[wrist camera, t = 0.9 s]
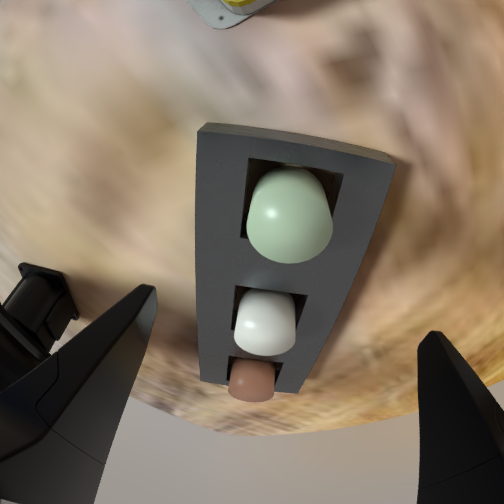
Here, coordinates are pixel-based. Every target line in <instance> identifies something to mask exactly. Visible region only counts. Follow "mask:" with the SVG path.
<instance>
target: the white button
mask: <svg viewBox="0 0 504 504" xmlns="http://www.w3.org/2000/svg"><path fill="white" fill-rule="evenodd" d="M234 339H235V342H236V343H237V345H238V346H239V347H240V348H242V349H243V350H245V351H247V352H249V353H252V354H256V355H262V356H273V355H278V354H282V353H284V352H286V351H288V350H289V349H291V348H292V346H293V345H294V343H295V302H294V299H293V297H292V296H291V295H290V294H289V293H288V292H281V291H274V290H266V289H259V288H252V289H250V290H248V291H247V292H245V293H244V294H243V295H242V297H241V299H240V303H239V309H238V315H237V321H236V327H235V333H234Z"/></svg>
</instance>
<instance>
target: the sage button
mask: <svg viewBox="0 0 504 504" xmlns="http://www.w3.org/2000/svg"><path fill="white" fill-rule="evenodd" d="M332 232H333V222H332V218H331V214H330V210H329V206H328V203H327V199H326V195H325V192H324V188H323V186H322V184H321V183H320V181H319V180H318V179H317V177H316V176H314V175H313V174H312V173H311V172H309V171H307V170H305V169H302V168H299V167H295V166H283V167H278V168H275V169H273V170H271V171H269V172H267V173H266V174H264V175H263V176H262V177H261V178H260V179H259V181H258V182H257V184H256V186H255V188H254V191H253V196H252V201H251V205H250V210H249V215H248V220H247V234H248V238H249V240H250V242H251V244H252V245H253V247H254V248H255V249H256V250H257V251H258V252H259V253H260V254H261V255H263V256H264V257H266V258H268V259H270V260H273V261H276V262H280V263H300V262H304V261H307V260H309V259H311V258H313V257H315V256H317V255H318V254H319V253H321V252H322V251H323V250H324V249H325V247H326V246H327V245H328V243H329V241H330V239H331V236H332Z"/></svg>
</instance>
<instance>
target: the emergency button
mask: <svg viewBox="0 0 504 504" xmlns="http://www.w3.org/2000/svg"><path fill="white" fill-rule="evenodd" d="M186 1H187V2H188V3H189V5H190V6H191V7H192V8H193V9H194V10H195V11H196V12H197V14H198V15H199V16H200V17H201V18H202V19H203V21H204V22H205V23H206V24H207V25H209V26H211V27H212V28H214V29H226V28H229V27H232V26H234V25H236V24H238V23H239V22H241V21H243V20H244V19H246V18H248V17H249V16H251V15H253V14H255V13H256V12H258V11H260V10H262V9H264V8H265V7H267V6H269V5H271V4H273V3H275V2H277V1H279V0H186Z"/></svg>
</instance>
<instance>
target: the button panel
mask: <svg viewBox="0 0 504 504" xmlns="http://www.w3.org/2000/svg"><path fill="white" fill-rule="evenodd" d="M251 158H256V159H263V160H270V161H277V162H283V163H290V164H296V165H302V166H308V167H313V168H319V169H324V170H329V171H334V172H335V174H334V178H333V182H332V186H331V190H330V194H329V198H328V202H327V203H328V206H329V210H330V214H331V218H332V222H333V232H332V236H331V239H330V241H329V243H328V245H327V246H326V247H325V249H324V250H323V251H322V252H321V253H319V254H318V255H317V256H315V257H313V258H311V259H309V260H307V261H304V262H300V263H280V262H276V261H273V260H270V259H268V258H266V257H264V256H263V255H261V254H260V253H259V252H258V251H257V250H256V249H255V248H254V247H253V245H252V244H251V242H250V240H249V238H248V234H247V220H244V214H245V205H246V196H247V188H248V179H249V170H250V162H251ZM395 168H396V164H395V163H394V162H393V161H392V160H391V159H390V158H389V157H388V155H387V154H386V153H384V152H381V151H377V150H373V149H369V148H365V147H361V146H356V145H352V144H348V143H343V142H339V141H334V140H329V139H324V138H319V137H314V136H308V135H303V134H297V133H291V132H285V131H278V130H271V129H264V128H256V127H248V126H239V125H230V124H219V123H206V124H205V125H204V126H203V127H201V128H200V129H199V130H198V131H197V153H196V188H195V273H196V308H197V331H198V350H199V366H200V380H201V381H204V382H209V383H215V384H221V385H228V386H229V382H230V376H231V370H232V364H229V358H230V356H235V357H242V358H249V359H257V360H265V361H273V362H278V364H277V367H276V370H275V381H274V391H275V392H286V393H298V392H299V390H300V388H301V386H302V385H303V383H304V381H305V379H306V377H307V376H308V374H309V372H310V370H311V368H312V366H313V364H314V363H315V361H316V359H317V357H318V355H319V353H320V351H321V349H322V347H323V345H324V343H325V341H326V339H327V337H328V335H329V333H330V331H331V329H332V327H333V325H334V323H335V321H336V319H337V317H338V314H339V312H340V310H341V308H342V306H343V304H344V301H345V299H346V297H347V295H348V293H349V290H350V288H351V286H352V283H353V281H354V279H355V276H356V274H357V272H358V269H359V267H360V265H361V262H362V260H363V257H364V255H365V252H366V250H367V247H368V245H369V242H370V240H371V237H372V234H373V232H374V229H375V226H376V224H377V221H378V218H379V216H380V213H381V210H382V207H383V204H384V201H385V198H386V195H387V193H388V190H389V186H390V183H391V180H392V177H393V174H394V171H395ZM237 285H238V286H245V287H252V288H259V289H266V290H274V291H281V292H288V293H296V294H301V296H300V299H299V302H298V305H297V308H296V311H295V343H294V345H293V346H292V348H291V349H289V350H288V351H286V352H284V353H282V354H278V355H273V356H262V355H256V354H252V353H249V352H247V351H245V350H243V349H242V348H240V347H239V346H238V345H237V343H236V342H235V339H234V333H235V327H236V321H237V315H238V311H234V308H235V298H236V289H237Z"/></svg>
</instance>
